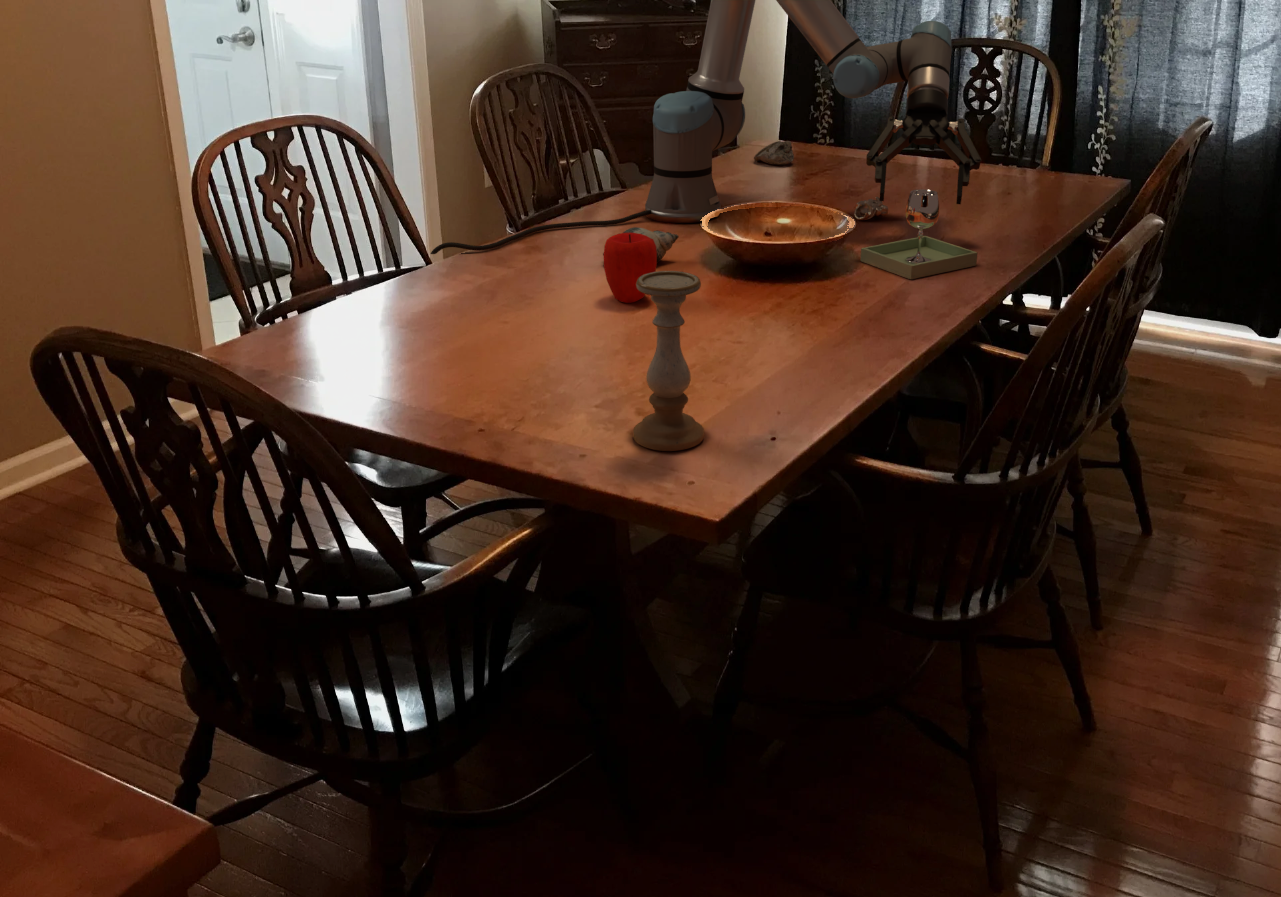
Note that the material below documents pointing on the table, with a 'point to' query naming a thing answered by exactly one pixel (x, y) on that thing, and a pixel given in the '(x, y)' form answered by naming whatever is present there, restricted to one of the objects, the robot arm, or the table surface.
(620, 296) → the apple
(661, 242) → the seashell
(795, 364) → the table surface
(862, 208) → the ornament
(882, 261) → the tray
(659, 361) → the candle holder
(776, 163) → the grey rock
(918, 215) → the wineglass
